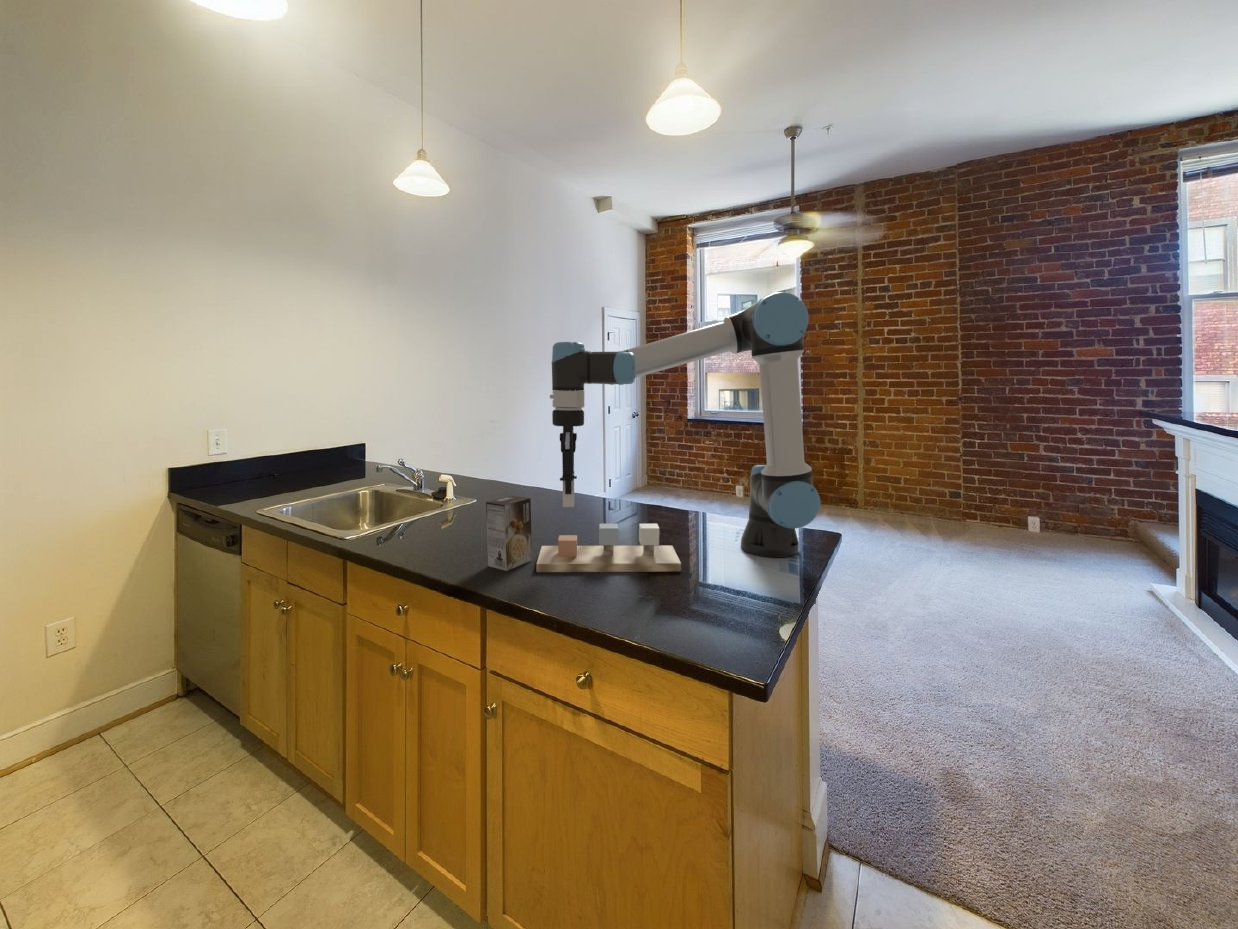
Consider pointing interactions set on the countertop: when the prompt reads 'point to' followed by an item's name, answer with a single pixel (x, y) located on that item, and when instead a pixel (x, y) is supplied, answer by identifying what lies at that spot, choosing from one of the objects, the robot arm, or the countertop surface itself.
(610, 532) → the cap middle
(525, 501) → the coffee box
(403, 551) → the countertop surface
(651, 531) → the cap
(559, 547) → the cap
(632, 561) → the mount board
